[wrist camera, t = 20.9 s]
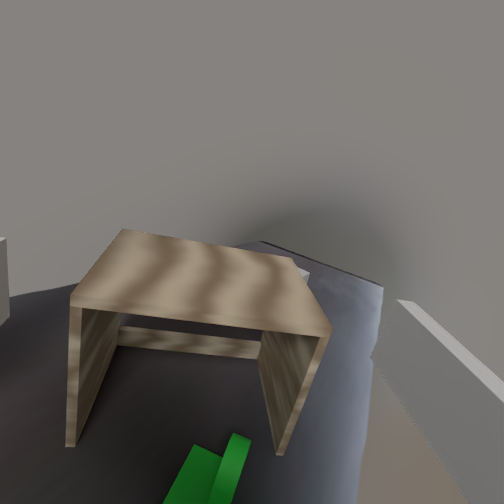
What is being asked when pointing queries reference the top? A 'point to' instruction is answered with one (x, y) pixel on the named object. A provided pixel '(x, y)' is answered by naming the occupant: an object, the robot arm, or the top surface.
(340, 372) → the top surface
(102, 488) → the top surface
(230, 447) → the mechanical part
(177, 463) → the top surface
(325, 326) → the cubby box
